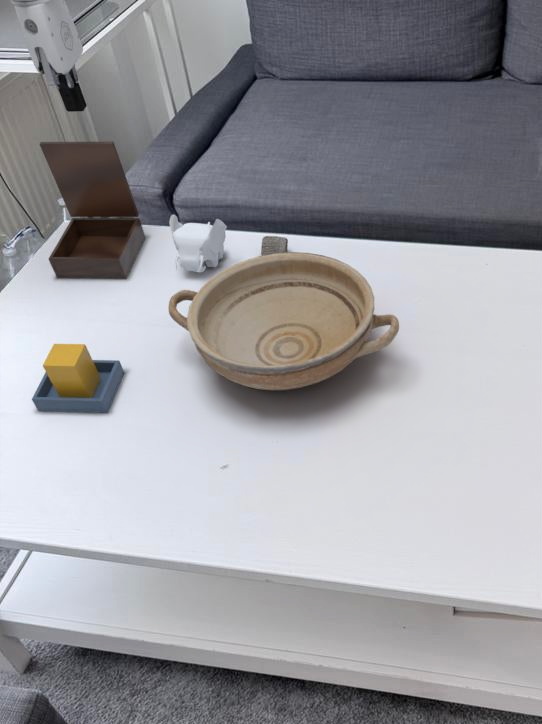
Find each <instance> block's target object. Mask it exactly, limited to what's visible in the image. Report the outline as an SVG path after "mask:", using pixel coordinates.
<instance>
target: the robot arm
mask: <svg viewBox="0 0 542 724" xmlns="http://www.w3.org/2000/svg"><path fill="white" fill-rule="evenodd" d="M9 2H10V3H11V4H13V5H14V6H13V7H14V10H15V14H16V17H17V21H18V24H19V28H20V30H21V33H22V37H23V39H24V43H25V45H26V48H27V50H28V53H29V56H30V58H31V61H32V63H33V65H34V68H35V69H36V72H37V73H38V74H39V75H41V76H45V80H46V83H47V85H48V86H51V87H52V86H55V88H56V89H57V91H58V93H59V95H60V98H61V100H62V102H63V106H64V108H65V111H66V112H68V113H69V112H71V113H72V112H73V113H74V112H85V109H86V108H87V106H88V105H87V102H86V98H85V96H84V93H83V90H82V88H81V86H80V83H79V75H78V72H77V69H76V63H77V62H78V61H79V59H80V58H81V56H82V54H83V52H84V46H83V44H82V41H81V38H80V36H79V33H78V30H77V27H76V25H75V22H74V20H73V18H72V14H71V12H70V9H69V8H68V6H67V3H66V1H65V0H9Z"/></svg>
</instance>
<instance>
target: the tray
mask: <svg viewBox="0 0 542 724" xmlns="http://www.w3.org/2000/svg"><path fill="white" fill-rule="evenodd" d="M92 360H93V362H94V364H95V367H96V369H97V371H98V373H99V375H100V377H101V379H100V382H99V384H98V386H97V388H96V391H95V393H94V395H93V397H92V398H61V397H59V395H58V393H57V391H56V390H55V388H54V386H53V384H52V382H51V380H50V378H49V377H48V375H47V373H46V371H45V372H44V374H43V376H42V378H41V380H40V382H39V384H38V386H37V388H36V390H35V392H34V394H33V396H32V398H31V401H32V403H33V404H34V406H35V408H36V409H37V411H38V412H62V413H63V412H64V413H65V412H67V413H108V412H109V410H110V408H111V406H112V403H113V400H114V398H115V396H116V393H117V391H118V389H119V387H120V385H121V381H122V379H123V376H124V374H125V370H124V368H123V366H122V364H121V361H120V360H119V359H117V360H115V359H114V360H113V359H112V360H111V359H110V360H109V359H92Z"/></svg>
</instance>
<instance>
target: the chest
mask: <svg viewBox="0 0 542 724" xmlns="http://www.w3.org/2000/svg"><path fill="white" fill-rule="evenodd" d="M145 240H146V234H145V231H144V228H143V226H142V223H141V219H140V217H71V220H70V221H69V223H68V225H67V227H66V228H65V229H64V232H63V233H62V235H61V237H60V238H59V240H58V242H57V243H56V245H55V246H54V248H53V250H52V252H51V253H50V255H49V257H48V261H49V264H50V266H51V268H52V270H53V272H54V274H55V276H56V279H99V280H101V279H102V280H103V279H105V280H106V279H107V280H108V279H109V280H111V279H113V280H114V279H115V280H119V279H120V280H127V278H128V276H129V274H130V272H131V270H132V267H133V266H134V264H135V260H136V259H137V257H138V255H139V253H140V251H141V248H142V246H143V244H144V242H145Z"/></svg>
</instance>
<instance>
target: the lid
mask: <svg viewBox="0 0 542 724" xmlns="http://www.w3.org/2000/svg"><path fill="white" fill-rule="evenodd" d="M39 147H40V149H41V151H42V154H43V156H44V159H45V161H46V163H47V165H48V167H49V170H50V172H51V175H52V177H53V179H54V181H55V184H56V186H57V188H58V190H59V193H60V195H61V198H62V200H63V202H64V205H65V207H66V209H67V212H68V214H69V216H70V217H71V218H139V216H140V213H139V210H138V208H137V204H136V203H135V202H136V201H135V200H134V196H133V193H132V190H131V188H130V185H129V182H128V179H127V176H126V174H125V170H124V168H123V164H122V162H121V159H120V156H119V154H118V150H117V147H116V145H115V142H114V140H113V141H111V140H110V141H40V142H39Z"/></svg>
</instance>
